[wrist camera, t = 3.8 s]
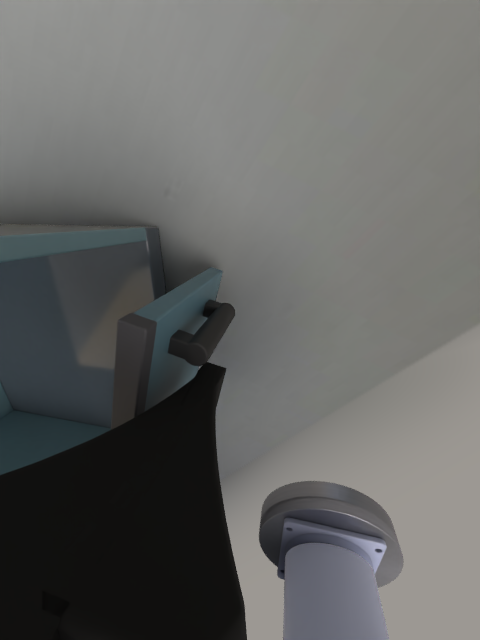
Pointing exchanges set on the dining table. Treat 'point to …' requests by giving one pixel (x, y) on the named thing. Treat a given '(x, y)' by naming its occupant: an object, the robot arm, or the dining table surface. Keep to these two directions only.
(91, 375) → the light blue open box
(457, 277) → the dining table surface
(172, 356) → the blue flat panel
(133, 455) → the robot arm
